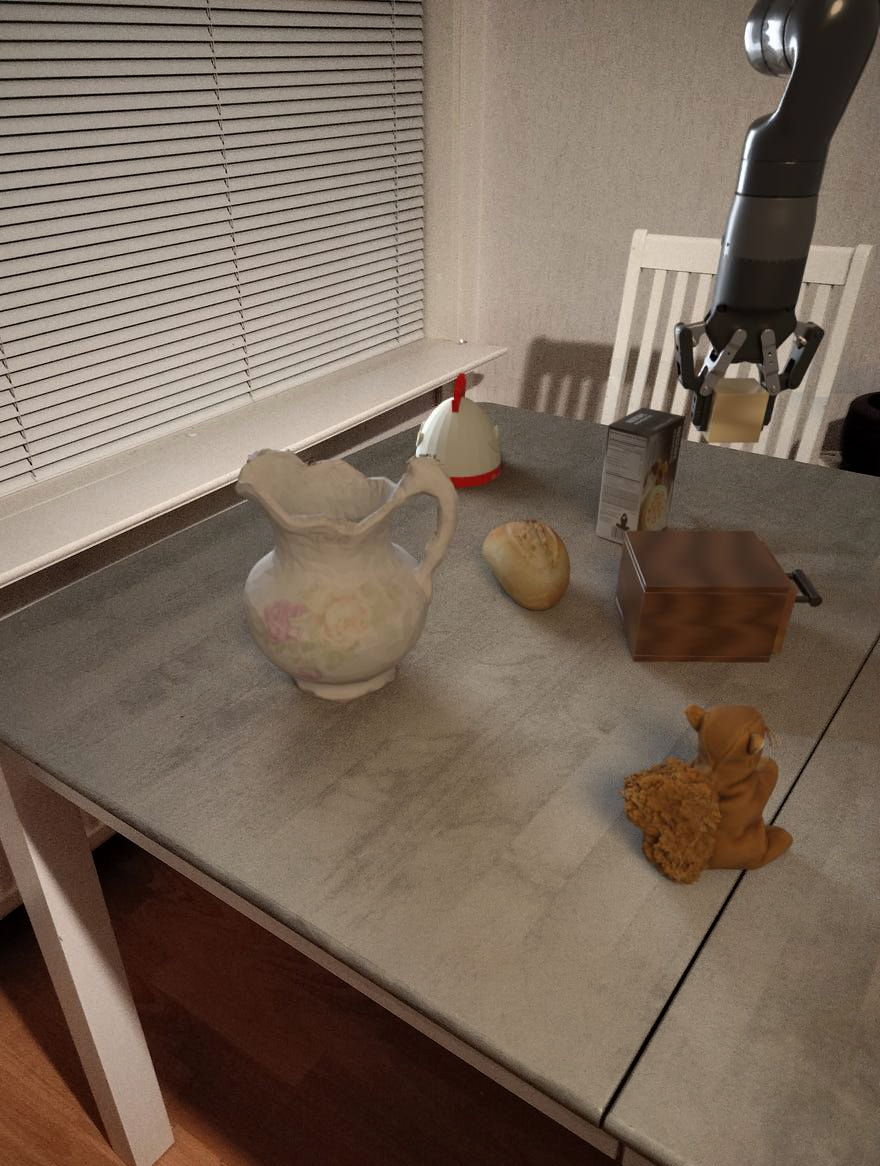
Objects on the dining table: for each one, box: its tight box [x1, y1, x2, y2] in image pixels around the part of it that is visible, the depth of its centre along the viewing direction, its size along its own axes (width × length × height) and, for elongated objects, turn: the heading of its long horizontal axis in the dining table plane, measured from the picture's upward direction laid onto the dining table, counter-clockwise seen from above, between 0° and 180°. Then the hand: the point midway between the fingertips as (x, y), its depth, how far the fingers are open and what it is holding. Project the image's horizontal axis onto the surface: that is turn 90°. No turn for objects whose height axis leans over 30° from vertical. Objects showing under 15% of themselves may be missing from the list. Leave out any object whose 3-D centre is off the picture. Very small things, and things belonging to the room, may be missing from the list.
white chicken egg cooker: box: [415, 372, 502, 488], centre depth 134 cm, size 14×14×15 cm
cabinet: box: [614, 530, 790, 663], centre depth 95 cm, size 15×13×10 cm
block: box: [700, 377, 769, 444], centre depth 86 cm, size 5×5×5 cm
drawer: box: [759, 539, 823, 653], centre depth 95 cm, size 18×11×8 cm, turn 87°
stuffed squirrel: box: [618, 703, 794, 886], centre depth 68 cm, size 10×14×13 cm
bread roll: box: [481, 518, 571, 611], centre depth 105 cm, size 10×15×8 cm, turn 18°
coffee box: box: [595, 407, 686, 545], centre depth 114 cm, size 9×6×16 cm
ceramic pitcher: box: [234, 447, 459, 704], centre depth 87 cm, size 22×20×25 cm
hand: (728, 428), depth 87 cm, fingers closed on block, 5 cm apart
